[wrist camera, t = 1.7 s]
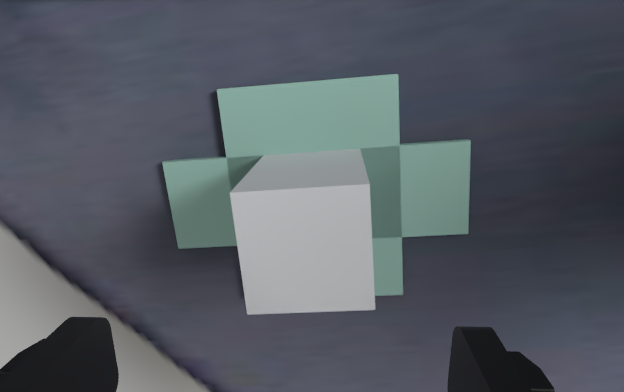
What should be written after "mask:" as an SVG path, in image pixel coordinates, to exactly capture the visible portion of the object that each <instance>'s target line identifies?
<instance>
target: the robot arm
mask: <svg viewBox="0 0 624 392" xmlns="http://www.w3.org/2000/svg"><path fill="white" fill-rule="evenodd" d="M117 385H118V367H117V362H116V356H115V350H114V344H113V338H112V332H111V327H110V324H109V322H108V320H107V319H106V318H99V317H97V318H96V317H70V318H68V319H67V320H66V321H64V322H63V323H62V324H61V325H60V326H59V327H58V328H57V329H56V330H55V331H54V332H53V333H51V335H49V336H48V337H47V338H46V339H42V340H41V341H39V342H38V343H35V344H34V345H32V346H30V347H28V348H27V349H25V350H23V351H22V352H20V353H18V354H17V355H16V356H15V357H14V358H12V359H11V360H10V361H9V362H8V363H7V364H6V365H5V366H4V367H2V368H1V369H0V392H116V389H117ZM448 392H555V391H554V388H553V386H552V385H551V383H550V382H549V380H548V379H547V377H546V376H545V375H544V373H543V372H542V370H541V369H540V368H539V367H538V366H536V365H535V364H534V363H533V362H531V361H530V360H529V359H527V358H526V357H525V356H524V355H522V354H521V353H520V352H510V351H506V349H505V347H504V346H503V344H502V343H501V341H500V339H499V338H498V336H497V334H496V333H495V331H494V330H493V329H492V328H491V327H455V329H454V331H453V337H452V347H451V356H450V366H449V376H448Z"/></svg>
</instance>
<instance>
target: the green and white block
mask: <svg viewBox="0 0 624 392" xmlns="http://www.w3.org/2000/svg"><path fill="white" fill-rule="evenodd" d="M217 96H218V103H219V110H220V117H221V124H222V131H223V138H224V145H225V152H226V156H222V157H208V158H194V159H180V160H166V161H164V162H162V164H163V170H164V175H165V180H166V186H167V191H168V196H169V202H170V207H171V212H172V218H173V223H174V228H175V233H176V239H177V244H178V249H184V248H204V247H223V246H237V247H238V254H239V261H240V268H241V275H242V282H243V289H244V296H245V303H246V310H247V315H250V314H277V313H304V312H331V311H358V310H375V296H386V295H403V265H402V237H417V236H437V235H456V234H468V226H469V188H470V149H471V141H470V140H468V139H463V140H449V141H435V142H421V143H406V144H400V133H399V89H398V74H390V75H379V76H367V77H355V78H343V79H331V80H319V81H308V82H296V83H284V84H272V85H260V86H249V87H237V88H225V89H217Z"/></svg>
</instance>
